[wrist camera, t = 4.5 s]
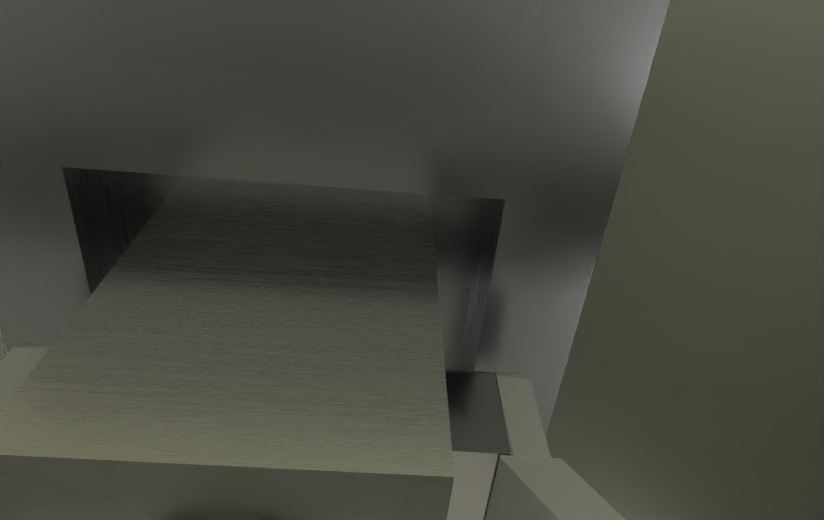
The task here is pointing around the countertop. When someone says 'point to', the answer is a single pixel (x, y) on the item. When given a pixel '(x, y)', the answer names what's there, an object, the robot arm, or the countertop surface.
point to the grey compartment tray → (328, 142)
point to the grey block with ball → (244, 372)
